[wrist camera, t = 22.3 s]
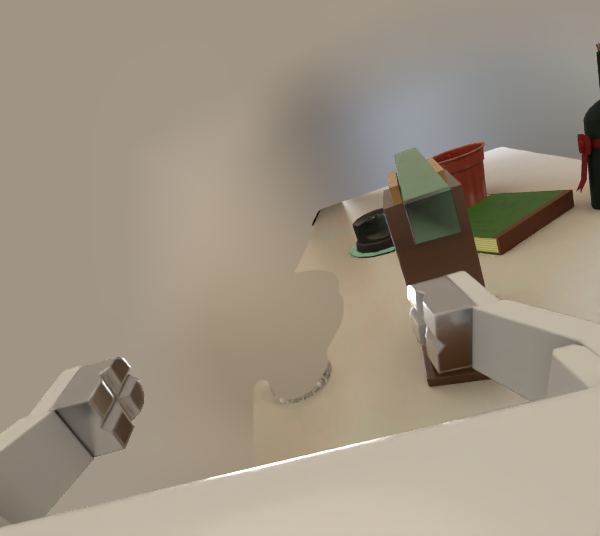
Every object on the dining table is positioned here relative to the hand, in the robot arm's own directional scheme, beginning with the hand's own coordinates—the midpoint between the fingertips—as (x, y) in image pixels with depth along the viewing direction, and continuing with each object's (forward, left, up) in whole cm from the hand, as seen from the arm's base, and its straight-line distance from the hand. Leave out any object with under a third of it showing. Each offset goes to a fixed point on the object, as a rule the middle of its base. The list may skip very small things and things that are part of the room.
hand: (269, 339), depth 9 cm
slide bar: (+20, +24, -4) cm, 31 cm away
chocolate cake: (+38, +80, -29) cm, 93 cm away
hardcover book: (+56, +56, -29) cm, 85 cm away
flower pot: (+65, +78, -29) cm, 106 cm away
